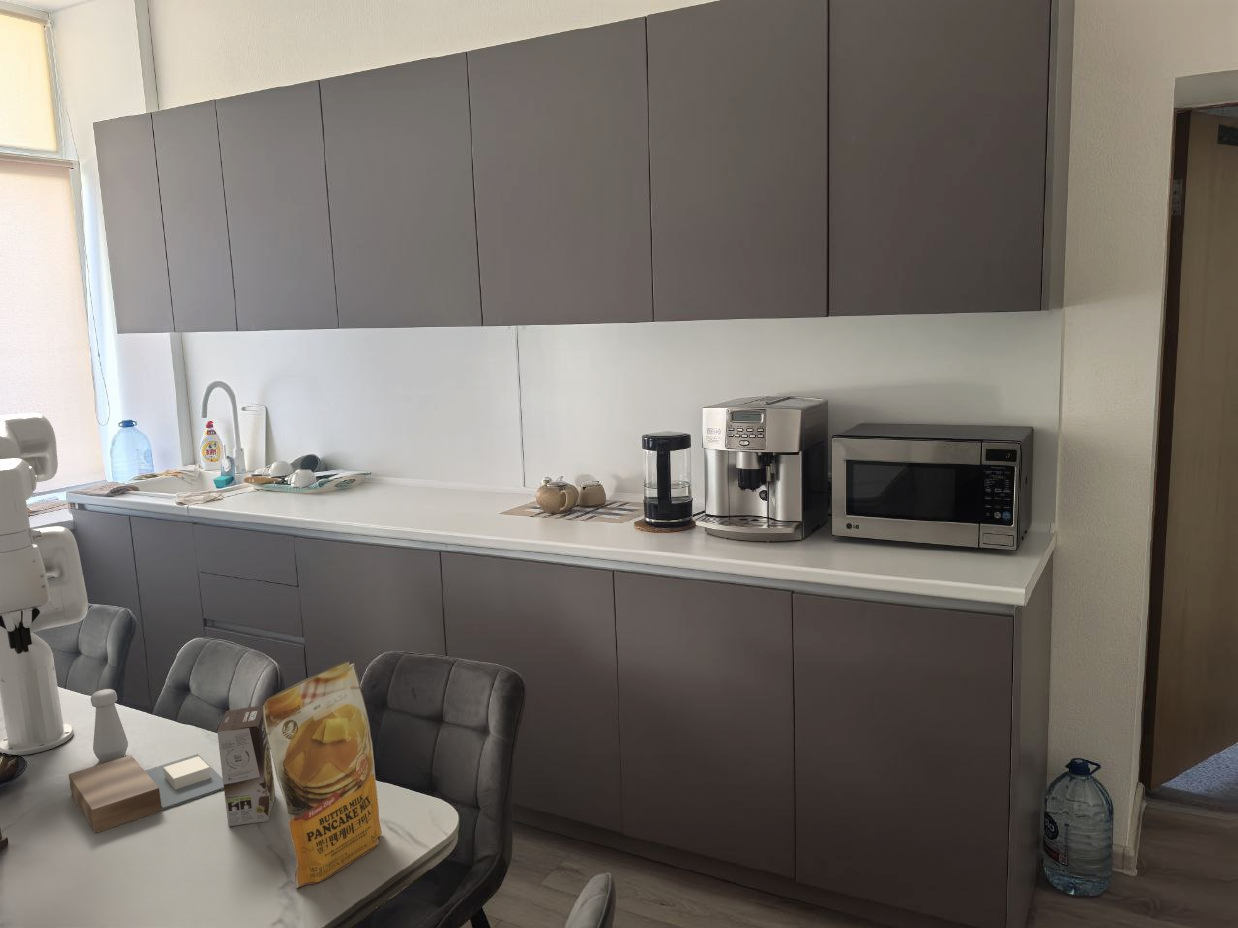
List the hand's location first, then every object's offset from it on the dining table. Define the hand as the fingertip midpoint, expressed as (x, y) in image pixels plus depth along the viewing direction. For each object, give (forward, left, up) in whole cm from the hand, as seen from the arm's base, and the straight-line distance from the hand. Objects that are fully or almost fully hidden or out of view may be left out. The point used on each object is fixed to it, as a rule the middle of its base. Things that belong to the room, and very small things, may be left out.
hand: (21, 650), depth 164 cm
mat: (+8, +20, -27) cm, 35 cm away
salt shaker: (-11, +13, -27) cm, 32 cm away
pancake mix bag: (+52, +29, -27) cm, 65 cm away
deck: (+8, +9, -27) cm, 30 cm away
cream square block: (+9, +21, -26) cm, 34 cm away
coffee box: (+28, +25, -27) cm, 46 cm away
